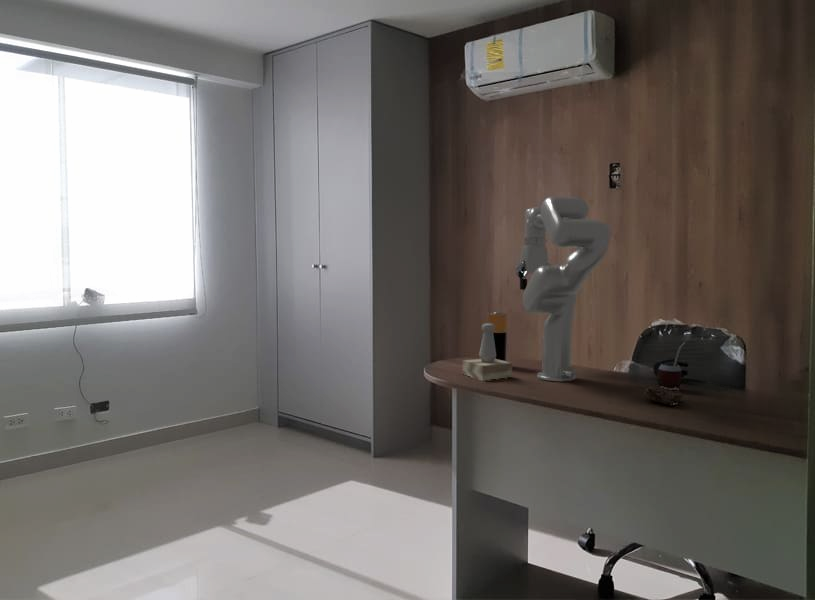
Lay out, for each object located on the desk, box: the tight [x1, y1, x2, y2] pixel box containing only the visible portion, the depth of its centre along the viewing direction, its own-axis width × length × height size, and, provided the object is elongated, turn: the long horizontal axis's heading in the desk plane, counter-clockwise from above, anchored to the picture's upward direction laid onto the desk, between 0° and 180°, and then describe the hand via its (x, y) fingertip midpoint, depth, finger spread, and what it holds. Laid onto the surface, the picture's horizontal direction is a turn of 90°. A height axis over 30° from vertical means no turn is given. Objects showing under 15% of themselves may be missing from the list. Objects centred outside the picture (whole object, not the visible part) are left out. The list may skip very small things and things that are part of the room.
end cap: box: [653, 357, 689, 382], centre depth 229 cm, size 10×7×7 cm
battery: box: [486, 311, 508, 362], centre depth 250 cm, size 7×7×20 cm
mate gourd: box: [657, 341, 687, 389], centre depth 212 cm, size 8×8×15 cm
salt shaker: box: [478, 323, 496, 363], centre depth 231 cm, size 6×6×13 cm
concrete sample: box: [643, 386, 684, 405], centre depth 195 cm, size 12×10×5 cm
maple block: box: [461, 358, 513, 382], centre depth 232 cm, size 12×12×5 cm
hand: (533, 289), depth 250 cm, fingers open, 9 cm apart
